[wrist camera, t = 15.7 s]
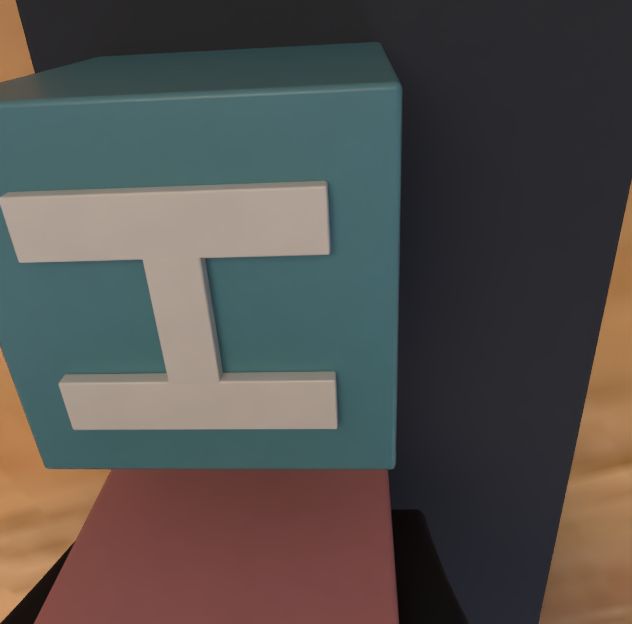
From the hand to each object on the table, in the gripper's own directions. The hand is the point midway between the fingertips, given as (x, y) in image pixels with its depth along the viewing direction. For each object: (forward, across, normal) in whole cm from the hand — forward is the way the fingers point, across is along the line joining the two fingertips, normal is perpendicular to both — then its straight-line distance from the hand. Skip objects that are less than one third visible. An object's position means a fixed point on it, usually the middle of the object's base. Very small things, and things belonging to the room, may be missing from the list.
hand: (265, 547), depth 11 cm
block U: (+1, 0, 0) cm, 1 cm away
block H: (+3, 0, -6) cm, 7 cm away
